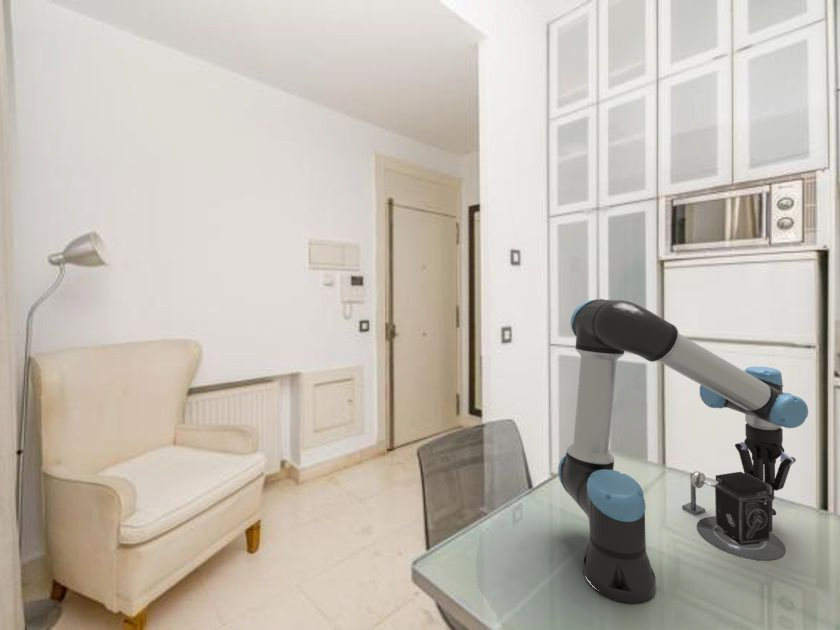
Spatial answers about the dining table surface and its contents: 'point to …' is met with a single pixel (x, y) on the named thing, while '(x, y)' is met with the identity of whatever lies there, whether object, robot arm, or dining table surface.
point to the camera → (744, 506)
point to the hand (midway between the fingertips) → (764, 509)
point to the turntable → (734, 546)
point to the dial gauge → (698, 482)
